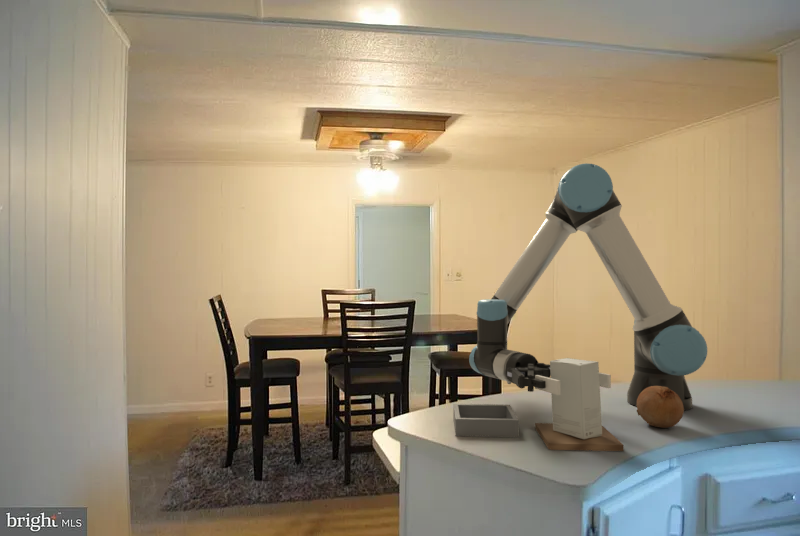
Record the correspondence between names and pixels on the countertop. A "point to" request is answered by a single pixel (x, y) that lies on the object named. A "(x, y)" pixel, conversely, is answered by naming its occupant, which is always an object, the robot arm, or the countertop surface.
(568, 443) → the coaster
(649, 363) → the robot arm
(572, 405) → the skincare box
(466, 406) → the holder
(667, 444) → the countertop surface
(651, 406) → the onion
